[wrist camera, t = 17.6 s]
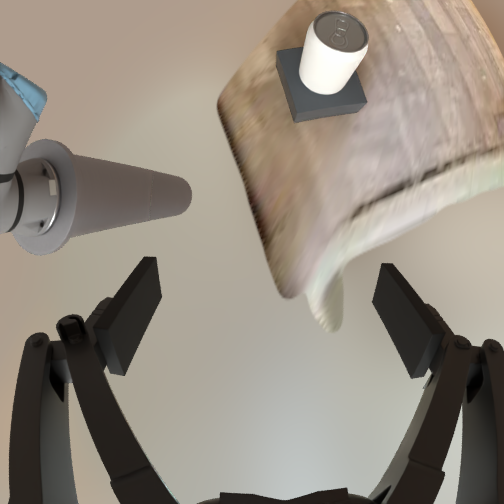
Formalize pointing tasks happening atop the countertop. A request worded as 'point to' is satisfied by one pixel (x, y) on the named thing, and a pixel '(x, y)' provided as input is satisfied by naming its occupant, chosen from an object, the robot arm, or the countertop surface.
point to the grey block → (312, 103)
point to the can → (332, 51)
